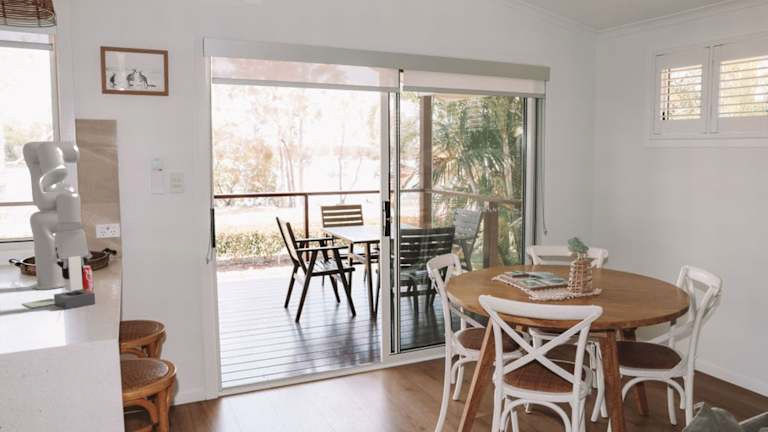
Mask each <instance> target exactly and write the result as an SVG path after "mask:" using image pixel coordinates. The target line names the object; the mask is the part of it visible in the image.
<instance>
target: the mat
mask: <svg viewBox="0 0 768 432" xmlns="http://www.w3.org/2000/svg"><path fill="white" fill-rule="evenodd" d="M22 306H25V307H28V308H29V309H38V308H43V307H49V306H55V301H54V298H47V299H40V300H35V301H28V302H24V303H22Z"/></svg>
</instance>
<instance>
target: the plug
mask: <svg viewBox="0 0 768 432" xmlns="http://www.w3.org/2000/svg"><path fill="white" fill-rule="evenodd" d="M67 268H68V271H69V279H64V281H65V286H64V289H65V290H66V291H68V292H71V291H75V290H81V289H83V287H82V271H81V256H77V257H69V258H68V262H67Z"/></svg>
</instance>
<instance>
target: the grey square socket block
mask: <svg viewBox="0 0 768 432" xmlns="http://www.w3.org/2000/svg"><path fill="white" fill-rule="evenodd" d="M95 296H96V295H95V292H93V293H92V292H89V291H86V290H77V291H67V292H60V293H55V294H53V297H54V298H53V299H54V301H55V305H54V306H56V307H59V308H61V309H64V310H70V309H71V310H72V309H75V308H81V307H86V306H91V305H92V306H93V305H96V299H95V298H96V297H95Z"/></svg>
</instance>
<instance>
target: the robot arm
mask: <svg viewBox="0 0 768 432" xmlns="http://www.w3.org/2000/svg"><path fill="white" fill-rule="evenodd" d="M80 153H81V152H80V149H79V146H78V145H77V143H76V142H74V141H68V140H65V141H64V140H63V141H60V140H58V141H57V140H52V141H51V140H50V141H45V140H44V141H39V140H38V141H31V142H30V141H29V142H26V143H25V144H24V145H23V147H22V155H23V159H24V161H25V164H26V166H27V168H28V170H29V173H30V183H31V196H32V202H33V204H34V206H36V207H37V209H38V211H36V212H34V213H31V215H30V217H29V222H30V223H29V224H30V228H31V232H32V237H33V246H34V258H35V273H36V283H35V284H33V285H32V289H34V290H41V291H43V290H54V289H60V288H65V279H69V271H68V268H67V262H68V258H69V257H77V256H81V271H82V274H83V266H84V265H86V263H87V262H88V260H90V259H91V258H93V254H91V252H90V250H89V249H88V241H87V237H86V234H85V230H84V229H83V228H84V227H86V225H87V224H86V222H83V221H82V212H81V210H82V209H81V208H82V207H81V205H82V200H81V195H80V194H79V193H78V192H77V190H76V189H75V187H74V185H72V184H71V183H65V182H64V183H60V182H63V181H64V180H65V179H66V178H67V177H68V175H69V170H68V167H67V164H75V163H78V162H79V160H80ZM82 277H83V275H82Z"/></svg>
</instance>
